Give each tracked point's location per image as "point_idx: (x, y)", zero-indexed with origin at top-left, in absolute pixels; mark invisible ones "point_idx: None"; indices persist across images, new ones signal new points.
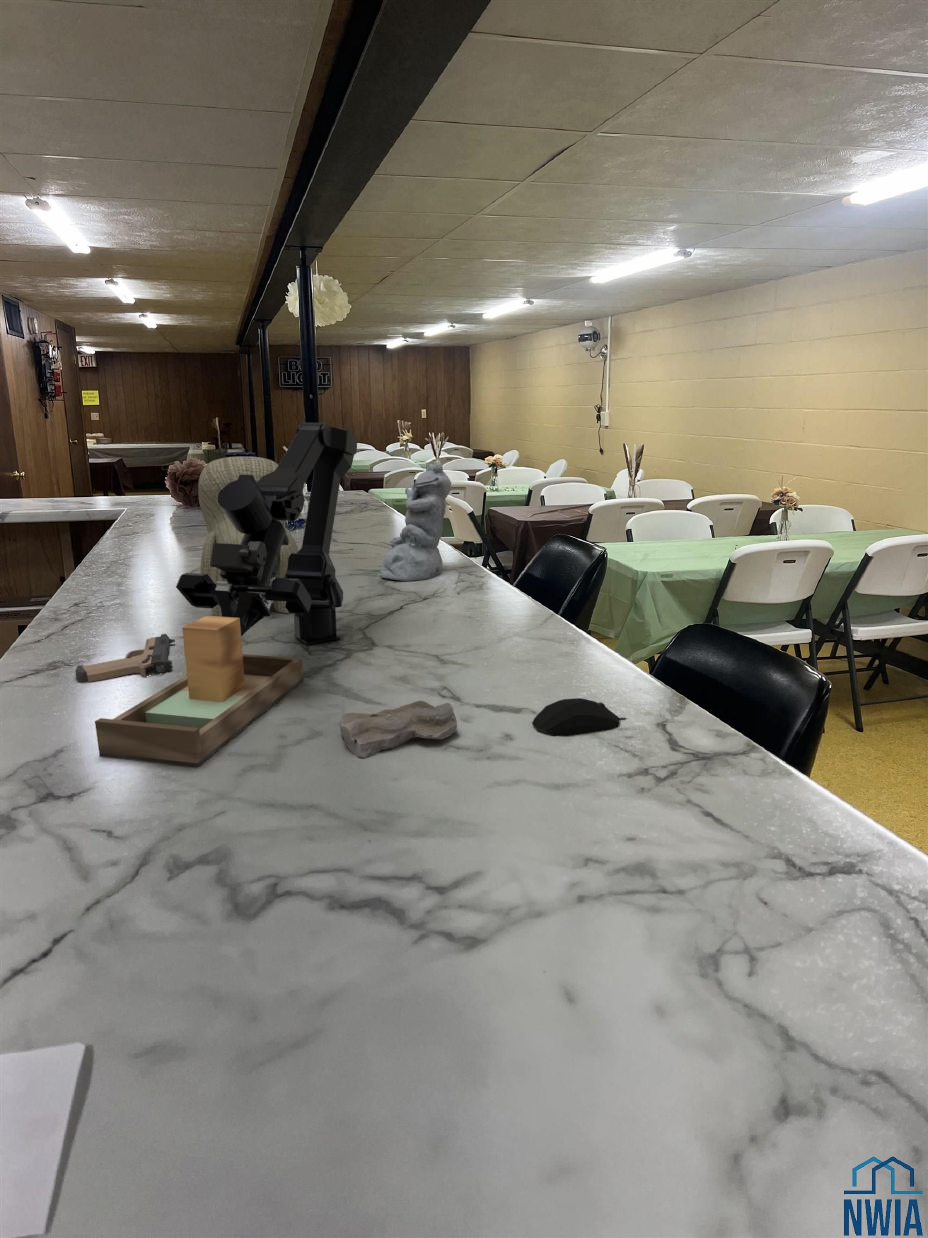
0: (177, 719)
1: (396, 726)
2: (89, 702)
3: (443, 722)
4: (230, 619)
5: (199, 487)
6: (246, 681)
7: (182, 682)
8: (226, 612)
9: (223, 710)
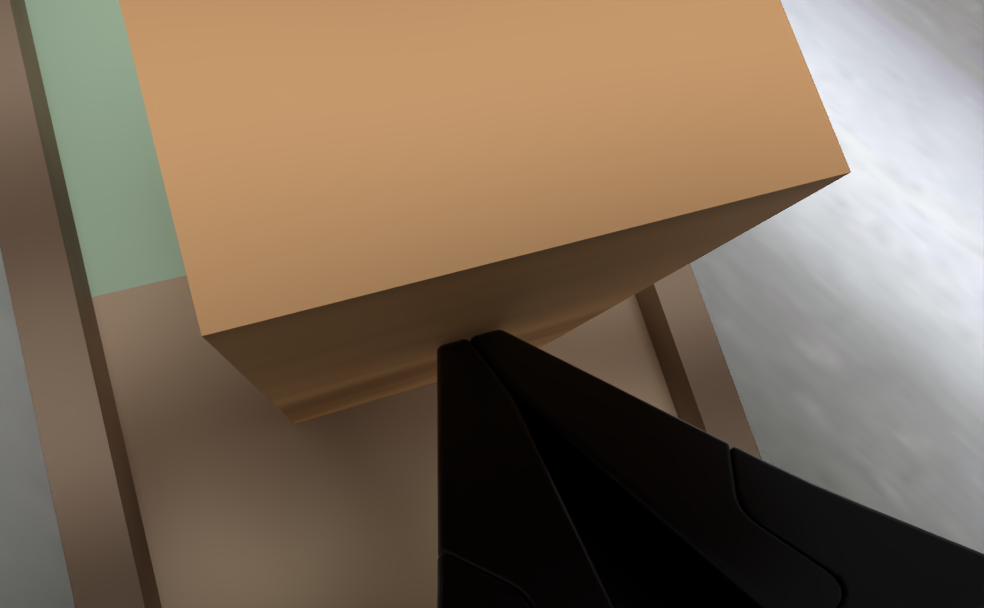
0: None
1: None
2: (931, 94)
3: None
4: (287, 150)
5: None
6: (359, 506)
7: None
8: (788, 548)
9: (119, 50)
